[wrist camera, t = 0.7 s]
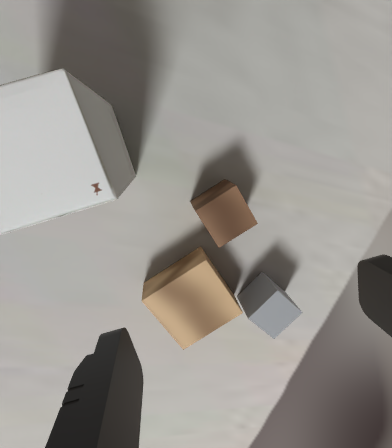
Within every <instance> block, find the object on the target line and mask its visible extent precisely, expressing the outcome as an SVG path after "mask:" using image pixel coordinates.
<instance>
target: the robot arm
mask: <svg viewBox="0 0 392 448" xmlns="http://www.w3.org/2000/svg"><path fill="white" fill-rule="evenodd" d="M358 288H359V289H358V290H359V302H360V305H361V308H362V310H363V311H364V313H365V314H366V315H367V316H368V318H370V319H371V320H372V321H373V322H374V323H375V324H377V325H378V326H379V327H380V328H381V329H383V330H384V331H385V332H386V333H387V334H389V335H390V336H391V337H392V257H390V256H387V255H380V256H376V257H372V258H369V259H366V260H362V261H360V262H359V263H358ZM142 395H143V373H142V367H141V364H140V361H139V358H138V356H137V353H136V351H135V348H134V346H133V343H132V341H131V338H130V336H129V333H128V331H127V329H126V328H121V329H117V330H114V331H110V332H107V333H103V334H101V335H100V336H99V339H98V342H97V345H96V349H95V352H94V354H91V355H87V356H86V357H85V358H84V359H83V361H82V362H81V363H80V365H79V366H78V367H77V369H76V370H75V371H74V374H73V376H72V379H71V381H70V384H69V387H68V392H66V394H65V397H64V400H63V402H62V407H61V408H60V410H59V413H58V415H57V418H56V421H55V423H54V426H53V429H52V431H51V434H50V436H49V439H48V442H47V444H46V447H45V448H139V435H140V421H141V408H142Z"/></svg>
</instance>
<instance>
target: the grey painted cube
mask: <svg viewBox="0 0 392 448" xmlns="http://www.w3.org/2000/svg"><path fill="white" fill-rule="evenodd" d="M237 297H238V299H239V301H240V303H241V305H242V307H243V309H244V311H245V313H246V315H247V317H248V319H249V320H251V321H252V322H253V323H254V324H256V325H257V326H258V327H260V328H261V329H262V330H263V331H265V332H266V333H267V334H268V335H270V336H271V337H272V338H273V339H275V338H276V337H277V336H278V335H279V334H280V333H281V332H282V331H283V330H284V329H285V328H286V327H287V326H289V325H290V324H291V323H292V322H293V321H294V320H295V319H296V318H297V317H298V316H299V315H300V314H301V313H303V312H302V311H301V310H300V309H299V308H298V307H297V305H296V304H295V303H294V302H293V301H292V300H291V298H290V297H289V296H288V295H287V294H286V292H285V291H284V290H282V289H281V288H280V287H279V286H278V285H277V284H276V283H275V282H273V281H272V280H271V279H270V278H269V277H268V276H267V275H266V274H264V273H263V272H261V273H260V274H259V275H258V276H257V277H256V278H255V279H254V280H253V281H252V282H251V283H250V284H249V285H248V286H247V287H246V288H245V289H244V290H243V291H242V292H241V293H240V294H239V295H238V296H237Z"/></svg>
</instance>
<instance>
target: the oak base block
mask: <svg viewBox="0 0 392 448" xmlns="http://www.w3.org/2000/svg"><path fill="white" fill-rule="evenodd" d="M142 302H143V303H144V304H145V305H146V307H147V308H148V309H149V310H150V311H151V312H152V314H153V315H154V316H155V317H156V318H157V319H158V321H159V322H160V323H161V324H162V325H163V326H164V328H165V329H166V330H167V331H168V332H169V334H170V335H171V336H172V337H173V338H174V339H175V341H176V342H177V343H178V344H179V345H180V346H181V348H182V349H183V350H184V349H185V348H187V347H189V346H190V345H192V344H193V343H195V342H197V341H198V340H200V339H201V338H203V337H205V336H206V335H208V334H209V333H211V332H213V331H214V330H216V329H218V328H219V327H221V326H222V325H224V324H226V323H227V322H229V321H230V320H232V319H234V318H235V317H237V316H239V315H240V314H242V313H243V312H242V310H241V308H240V306H239V304H238V302H237V300H236V298H235V296H234V294H233V293H232V291H231V290H230V288H229V287H228V285H227V284H226V283H225V281H224V280H223V278H222V277H221V275H220V274H219V272H218V271H217V269H216V268H215V266H214V265H213V264H212V262H211V261H210V259H209V258H208V256H207V255H206V253H205V252H204V250H203V249H202V248H201V247H199V248H197V249H196V250H194V251H193V252H191V253H190V254H188V255H187V256H185V257H183V258H182V259H180V260H179V261H177V262H176V263H174V264H172V265H171V266H169V267H168V268H166V269H165V270H163V271H162V272H160V273H158V274H157V275H155V276H154V277H152V278H151V279H149V280H148V281H146V282H144V285H143V294H142Z"/></svg>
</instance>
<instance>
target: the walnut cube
mask: <svg viewBox="0 0 392 448" xmlns="http://www.w3.org/2000/svg"><path fill="white" fill-rule="evenodd" d="M190 202H191V204H192V206H193V208H194V209H195V211H196V213H197V214H198V216H199V218H200V219H201V221H202V222H203V224H204V225H205V227H206V228H207V230H208V232H209V233H210V235H211V236H212V238H213V239H214V241H215V242H216V244H217V246H218V247H219V248H220V247H221V246H223V245H224V244H226V243H228V242H229V241H231V240H232V239H234V238H236V237H237V236H239V235H240V234H242V233H244V232H245V231H247V230H248V229H250V228H252V227H253V226H255V225H256V224H258V223H257V221H256V220H255V218H254V216H253V214H252V212H251V211H250V209H249V207H248V205H247V204H246V202H245V200H244V198H243V196H242V195H241V193H240V191H239V189H238V187H237V186H236V185H235V184H233V183H231V182H229V181H228V180H226V179H224V180H223V181H221V182H220V183H218V184H217V185H215V186H213V187H212V188H210V189H209V190H207V191H206V192H204V193H202V194H201V195H199V196H198V197H196V198H195V199H193V200H191V201H190Z"/></svg>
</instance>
